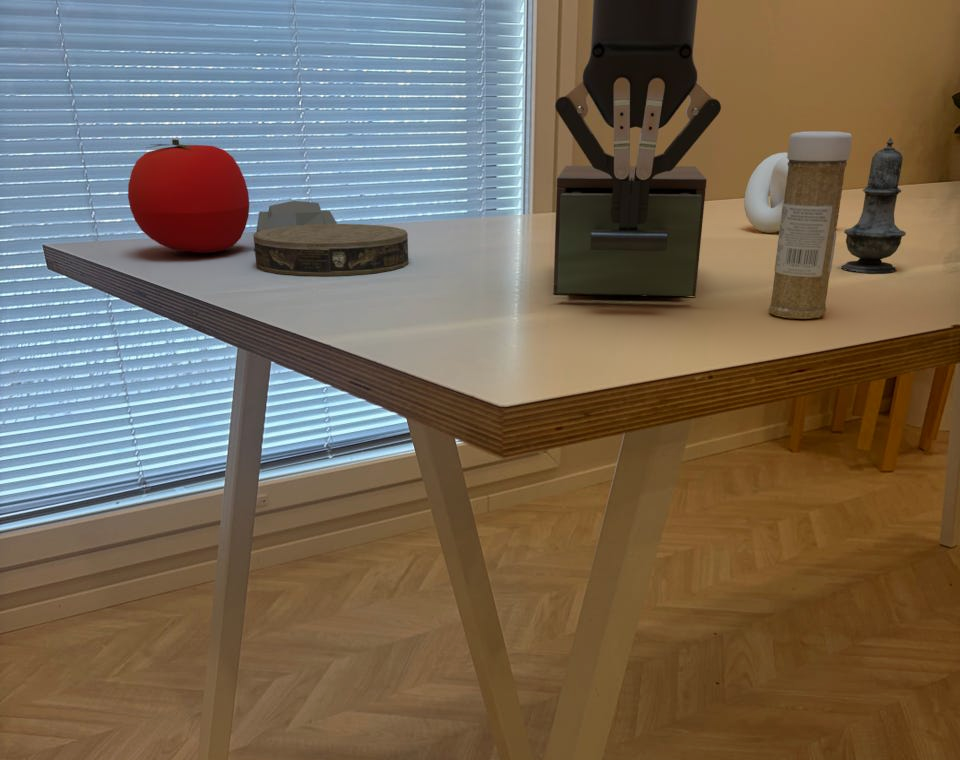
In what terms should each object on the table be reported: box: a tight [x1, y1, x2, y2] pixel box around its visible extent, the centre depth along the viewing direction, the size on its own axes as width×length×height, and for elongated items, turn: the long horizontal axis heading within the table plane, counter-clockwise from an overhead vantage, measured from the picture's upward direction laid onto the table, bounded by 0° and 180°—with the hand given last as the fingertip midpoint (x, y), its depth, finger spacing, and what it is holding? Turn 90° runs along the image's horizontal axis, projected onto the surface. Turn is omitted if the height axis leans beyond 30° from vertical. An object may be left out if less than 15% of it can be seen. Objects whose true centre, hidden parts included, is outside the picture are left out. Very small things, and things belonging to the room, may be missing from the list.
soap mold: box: [253, 200, 338, 252], centre depth 125 cm, size 10×20×4 cm, turn 10°
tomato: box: [127, 138, 250, 254], centre depth 112 cm, size 12×14×12 cm
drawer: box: [558, 188, 702, 296], centre depth 89 cm, size 18×11×8 cm, turn 173°
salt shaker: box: [841, 137, 907, 274], centre depth 102 cm, size 6×6×12 cm
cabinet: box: [552, 165, 708, 297], centre depth 96 cm, size 15×13×10 cm
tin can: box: [253, 223, 409, 277], centre depth 107 cm, size 16×16×3 cm
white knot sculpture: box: [743, 152, 789, 234], centre depth 129 cm, size 11×12×9 cm
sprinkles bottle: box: [768, 130, 853, 320], centre depth 81 cm, size 5×5×14 cm
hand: (628, 229), depth 82 cm, fingers closed
